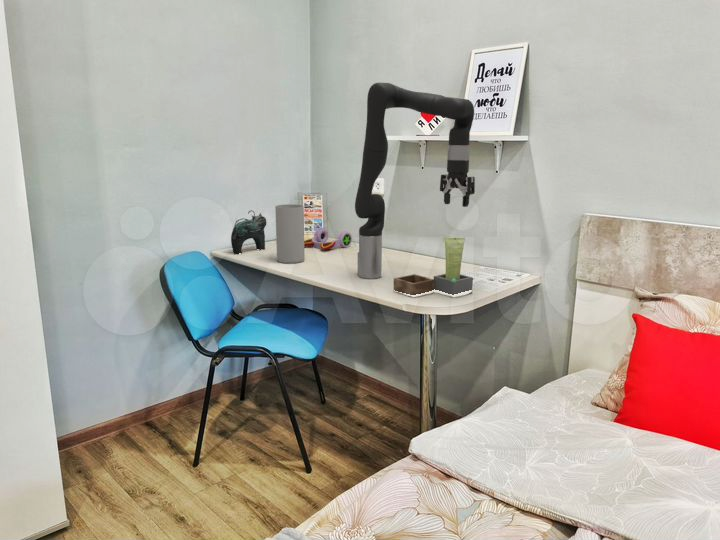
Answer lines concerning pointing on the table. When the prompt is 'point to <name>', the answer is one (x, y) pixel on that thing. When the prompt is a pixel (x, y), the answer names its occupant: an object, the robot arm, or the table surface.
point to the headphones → (322, 237)
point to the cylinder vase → (290, 233)
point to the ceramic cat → (248, 233)
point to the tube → (453, 257)
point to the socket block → (453, 284)
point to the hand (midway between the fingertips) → (456, 205)
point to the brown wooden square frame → (413, 284)
